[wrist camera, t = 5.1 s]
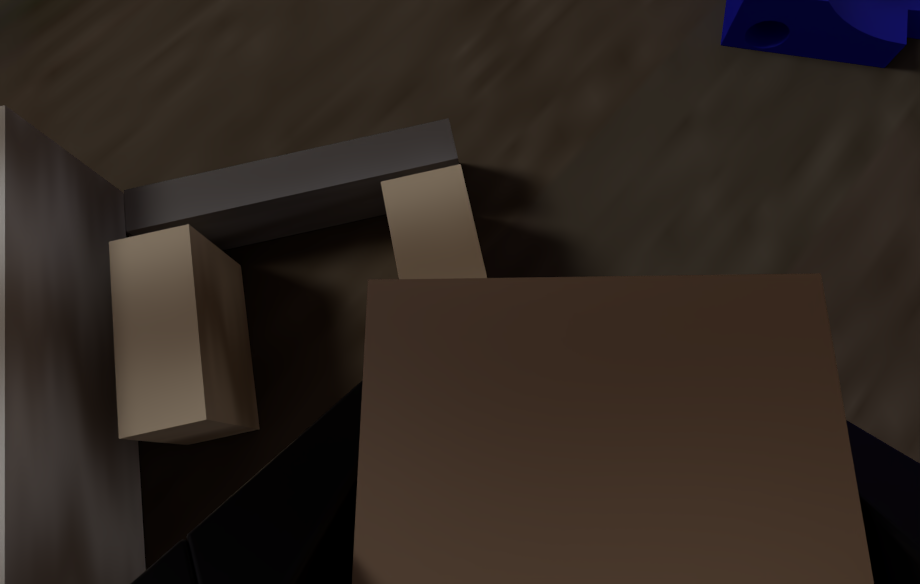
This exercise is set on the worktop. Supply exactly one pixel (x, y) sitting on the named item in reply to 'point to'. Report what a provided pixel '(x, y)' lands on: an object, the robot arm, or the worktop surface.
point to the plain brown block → (604, 433)
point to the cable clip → (823, 28)
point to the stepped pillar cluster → (164, 317)
